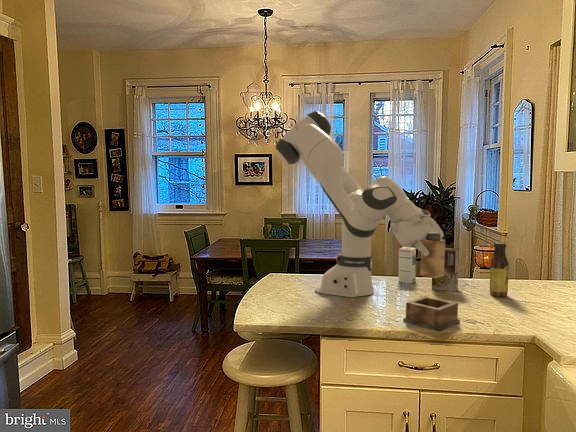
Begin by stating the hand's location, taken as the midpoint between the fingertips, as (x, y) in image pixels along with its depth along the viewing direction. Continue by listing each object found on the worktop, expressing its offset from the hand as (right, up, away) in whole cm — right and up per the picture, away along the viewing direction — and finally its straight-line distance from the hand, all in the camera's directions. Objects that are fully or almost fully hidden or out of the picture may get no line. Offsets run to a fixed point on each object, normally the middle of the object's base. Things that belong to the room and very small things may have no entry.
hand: (434, 253), depth 134 cm
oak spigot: (0, -7, +1) cm, 7 cm away
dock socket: (0, -21, +2) cm, 21 cm away
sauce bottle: (+35, -19, +34) cm, 52 cm away
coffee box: (+18, -18, +44) cm, 51 cm away
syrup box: (+7, -17, +56) cm, 59 cm away
